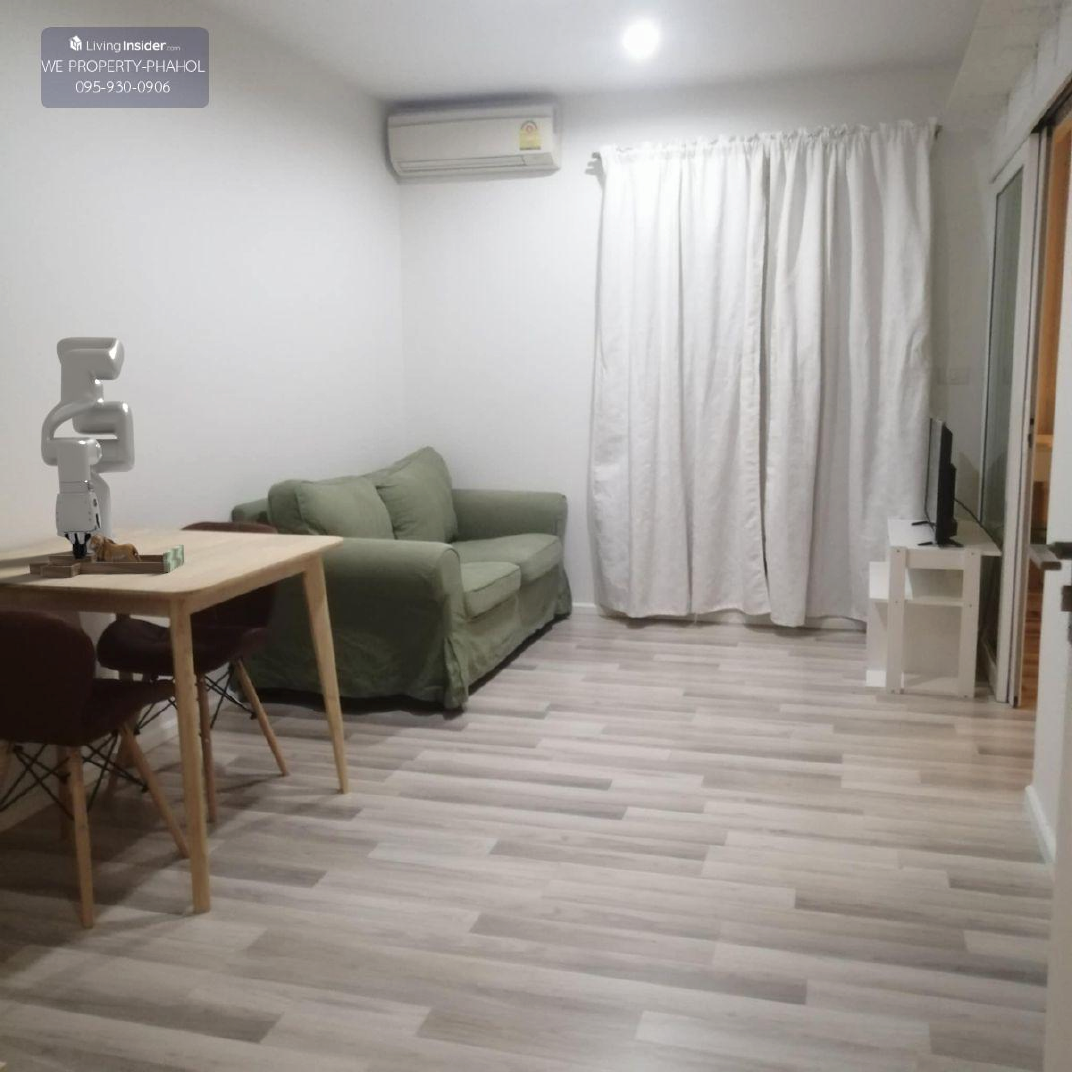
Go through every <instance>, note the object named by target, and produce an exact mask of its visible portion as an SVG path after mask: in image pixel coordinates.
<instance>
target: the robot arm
mask: <svg viewBox="0 0 1072 1072" xmlns="http://www.w3.org/2000/svg"><path fill="white" fill-rule="evenodd" d="M56 354H57V358H58V361H59V363H60V401H59V402H58V403H57V404H56V405H55V406H54V407H53V408H52V409H51V410H50V411H49V412H48V414H47V415H46V417H45V419H44V421H43V422H42V426H41V432H40V433H41V434H40V435H41V438H40V454H41V459H42V461H43V463H44V464H46V465H47V466H50V467H57V473H58V474H57V475H58V477H57V478H58V489H59V493H57V495H56V499H55V500H56V501H55V527H56V530H57V531H56V535H57V536H58V537H60V538H61V537H62V538H65V539H67V540H68V541H69V543H70V544H71V546H72V547H71V552H72V555H74V556H75V559H84V558H86V555H88V554H92V553H94V552H93V551H91V548H89V545H90V537H92V536H95V535H102V536H105V537H106V538H108V539H111V540H113V541H114V539H115V538H116V533H115V532H114V531H113V530H114V529H113V516H112V515H113V514H112V502H111V498H112V497H111V490H110V489H111V488H110V486H109V484H108V483H107V481H106V480H104V478H103V477H102V476H101V475H100V474H107V473H108V474H110V473H111V474H112V473H116V474H117V473H127V472H130V471H132V470H133V468H134V466H135V436H134V435H135V433H134V418H133V417H134V416H133V413H132V410H131V407H130V405H129V404H128V403H126V402H124V401H119V400H115V401H114V400H113V401H112V400H111V401H110V400H109V401H108V400H106V401H105V399H104V398H105V396H104V384H103V383H102V381H114V380H117V379H118V377H119V376H120V375H121V371H122V367H123V365H124V361H125V349H124V344H123V343H122V341H121V340H120V339H118V338H116V337H109V336H108V337H107V336H105V337H103V336H101V337H99V336H74V337H73V336H71V337H65V338H62V339H60V340H59V341H58V342H57V344H56ZM71 419H72V420H71ZM70 420H71V421H72V428H73V430H74V431H75V432H76V433H77V434H79V435H82V436H76V437H75V436H73V437H72V436H70V437H67V436H65V437H64V436H63V437H55V433H56V431H57V429H58V428H59V427H60V426H61V425H63V424H64V423H65V422H67V421H70ZM83 435H84V436H83ZM88 436H115V437H116V438H94V437H88ZM115 543H116V542H115ZM116 544H118V545H120V544H119V543H116Z"/></svg>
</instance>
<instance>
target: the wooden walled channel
mask: <svg viewBox="0 0 1072 1072" xmlns="http://www.w3.org/2000/svg"><path fill="white" fill-rule="evenodd" d="M139 557H140V559H141V562H139V560H138V558H137V555H135V560H136V561H137V562H130V561H129V560H128V559H127V558H126V556H125V557H123V558H113V562H105V558H101V557H99V555H97V554H96V553H89V554H87V555H86V558H84V559H75V556H74V555H73V554H65V555H63V554H59V555H57V554H55V555H53V554H52V555H51V554H50V555H48V560H49V561H48V562H30V563H29V573H30V574H40V578H60V577H61V578H73V577H76V576H78V575H80V574H102V573H103V574H110V573H111V574H112V573H113V574H116V573H117V574H118V573H119V574H129V573H130V574H131V573H133V574H134V572H155V573H164V572H169V571H170V570H172V571H173V569H174V570H175V568H176V567H177V568H179V567H181V566H182V565H181V564H183V563H184V564H185V547H184V544H178V545H177V546H174V547H173V548H171V549H169V550H167V551H165V552H163V553H162V554H139ZM184 564H183V565H184ZM180 565H181V566H180ZM178 566H179V567H178ZM177 568H176V569H177ZM170 572H171V571H170ZM170 572H169V573H170Z"/></svg>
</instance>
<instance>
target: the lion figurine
mask: <svg viewBox="0 0 1072 1072" xmlns="http://www.w3.org/2000/svg"><path fill="white" fill-rule="evenodd" d="M118 544H119V543H117V544H116V542H114V539H113V540H111V539H108V538H106V537H105V536H102V535H95V536H92V537H90V545H89V548H91V551H93V552H94V553H96V554H97V555H99V557H101V558H105V562H113V558H123V557H125V556H126V558H127V559H128V560H129V561H130V562H137V561H136V560H135V555H137V558H138V560H139V562H141V559H140V557H139V555H140V554H139V551H138V549H137V547H136V546H135V545H134V544H132V543H128V542H127V543H124V544H122V543H121V544H119V545H118Z"/></svg>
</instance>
